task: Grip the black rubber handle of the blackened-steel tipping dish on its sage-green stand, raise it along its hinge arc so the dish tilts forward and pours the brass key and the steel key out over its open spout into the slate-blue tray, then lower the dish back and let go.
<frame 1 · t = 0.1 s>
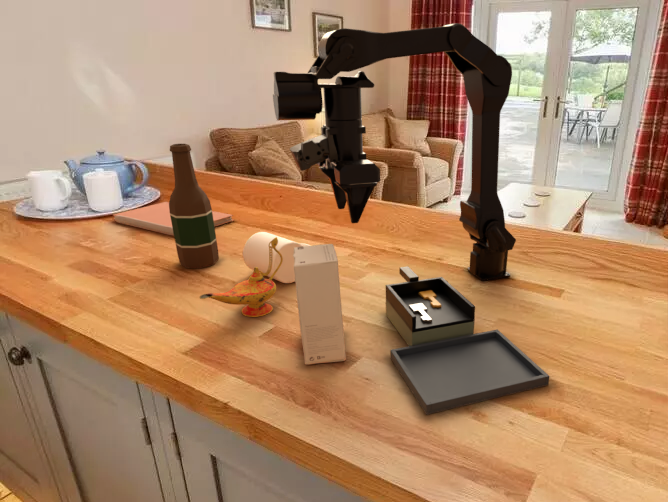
hand: (347, 215, 83), 15 cm above the counter, tool pointing down, fingers open, 9 cm apart
mug: (285, 274, 98), on the counter
notebook: (172, 222, 129), on the counter
brass key: (431, 300, 79), point 3 cm above the counter, touching dish
tray: (466, 371, 66), on the counter
steel key: (422, 313, 74), point 3 cm above the counter, touching dish
magic lamp: (250, 315, 81), on the counter
cosmetic box: (322, 349, 71), on the counter
dish: (422, 294, 78), point 5 cm above the counter, hinge at -0.1°, touching brass key, steel key
beer bottle: (200, 263, 103), on the counter
stand: (427, 326, 78), on the counter
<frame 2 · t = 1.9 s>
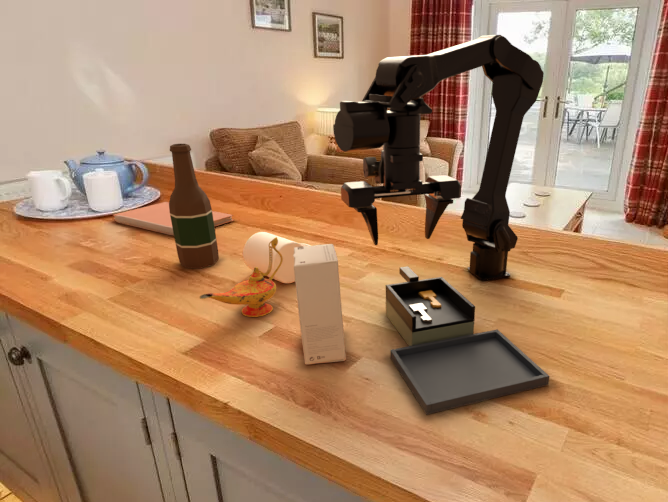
hand: (401, 241, 82), 11 cm above the counter, tool pointing down, fingers open, 9 cm apart
nothing on the counter moved.
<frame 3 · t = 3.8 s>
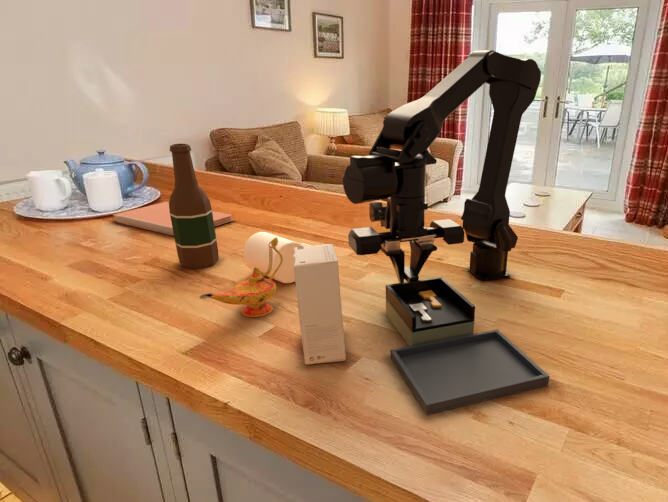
hand: (406, 283, 85), 4 cm above the counter, tool pointing down, fingers closed on dish, 2 cm apart
dish: (422, 294, 78), point 5 cm above the counter, hinge at -0.1°, touching brass key, gripper, steel key
everything else where it was.
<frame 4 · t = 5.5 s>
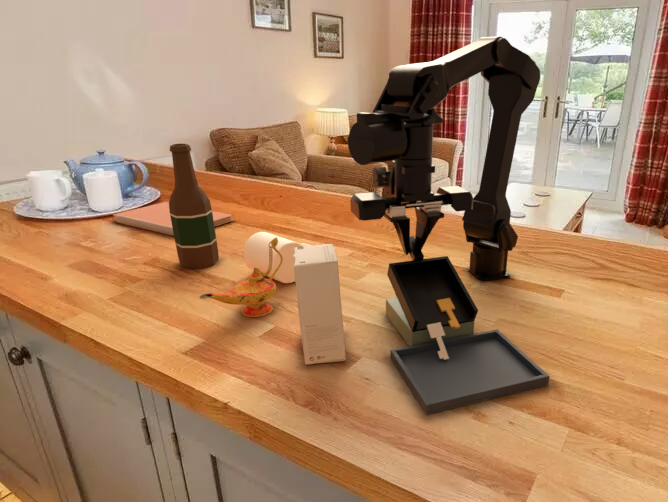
hand: (411, 253, 80), 10 cm above the counter, tool pointing down, fingers closed on dish, 2 cm apart
brass key: (449, 314, 73), point 4 cm above the counter, tilted 22°, touching dish
steel key: (439, 342, 69), point 2 cm above the counter, tilted 34°
dish: (425, 279, 76), point 8 cm above the counter, hinge at 22.5°, touching brass key, gripper
everything else where it was.
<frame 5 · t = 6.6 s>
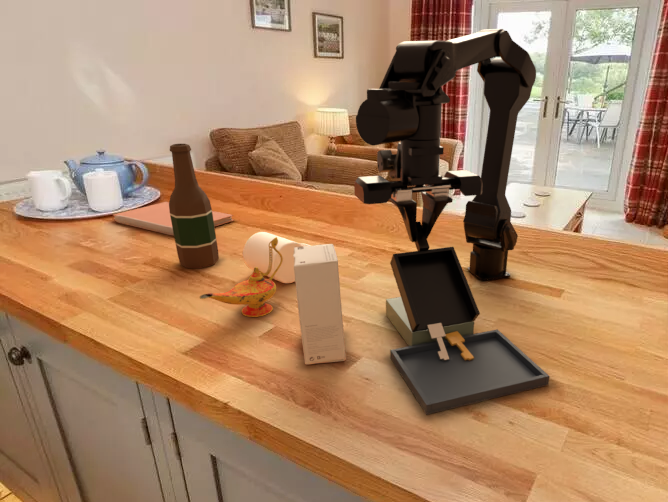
hand: (418, 240, 77), 13 cm above the counter, tool pointing down, fingers closed on dish, 2 cm apart
brass key: (460, 347, 70), point 1 cm above the counter, tilted 13°, touching tray
steel key: (439, 342, 69), point 2 cm above the counter, tilted 34°, touching dish, tray
dish: (429, 272, 74), point 9 cm above the counter, hinge at 36.5°, touching gripper, steel key
everything else where it was.
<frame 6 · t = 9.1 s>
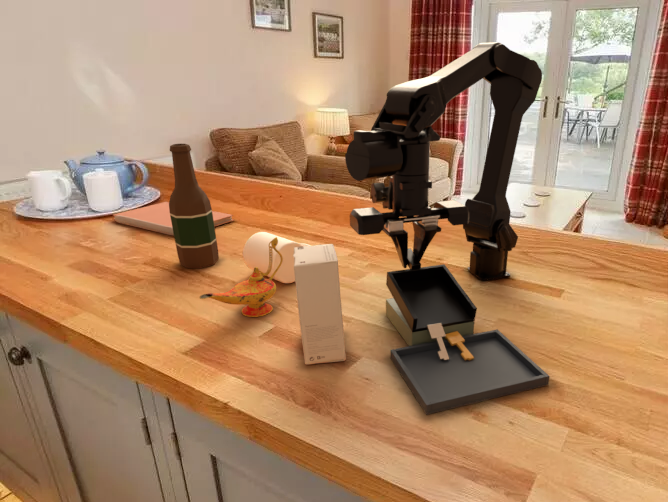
hand: (409, 266, 82), 7 cm above the counter, tool pointing down, fingers closed on dish, 2 cm apart
dish: (423, 285, 77), point 6 cm above the counter, hinge at 12.6°, touching gripper, steel key
everything else where it was.
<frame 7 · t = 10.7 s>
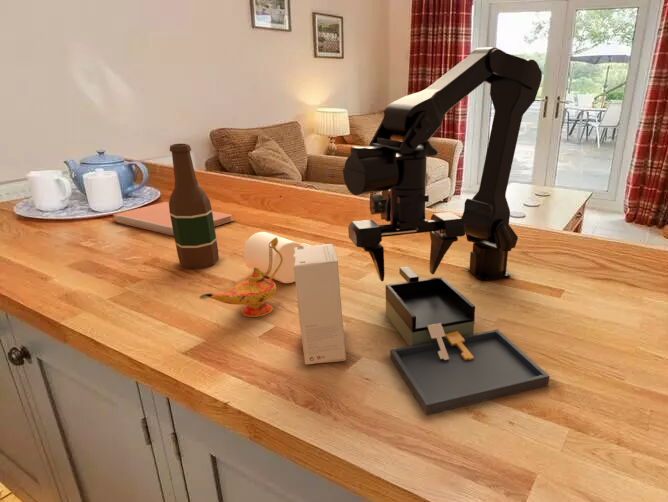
hand: (407, 276, 84), 5 cm above the counter, tool pointing down, fingers open, 9 cm apart
dish: (422, 294, 78), point 5 cm above the counter, hinge at -0.1°, touching steel key
everything else where it was.
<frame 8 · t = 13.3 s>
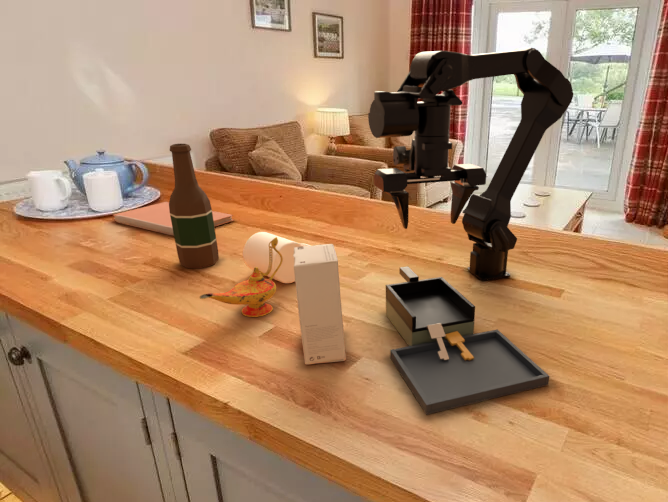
hand: (429, 225, 87), 12 cm above the counter, tool pointing down, fingers open, 9 cm apart
nothing on the counter moved.
at the end: dish reached +36° during the clip, +0° at the end; brass key inside the target area in the tray (4.6 cm from its centre), point 1.0 cm above the tray's base; steel key inside the target area in the tray (5.4 cm from its centre), point 2.0 cm above the tray's base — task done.
